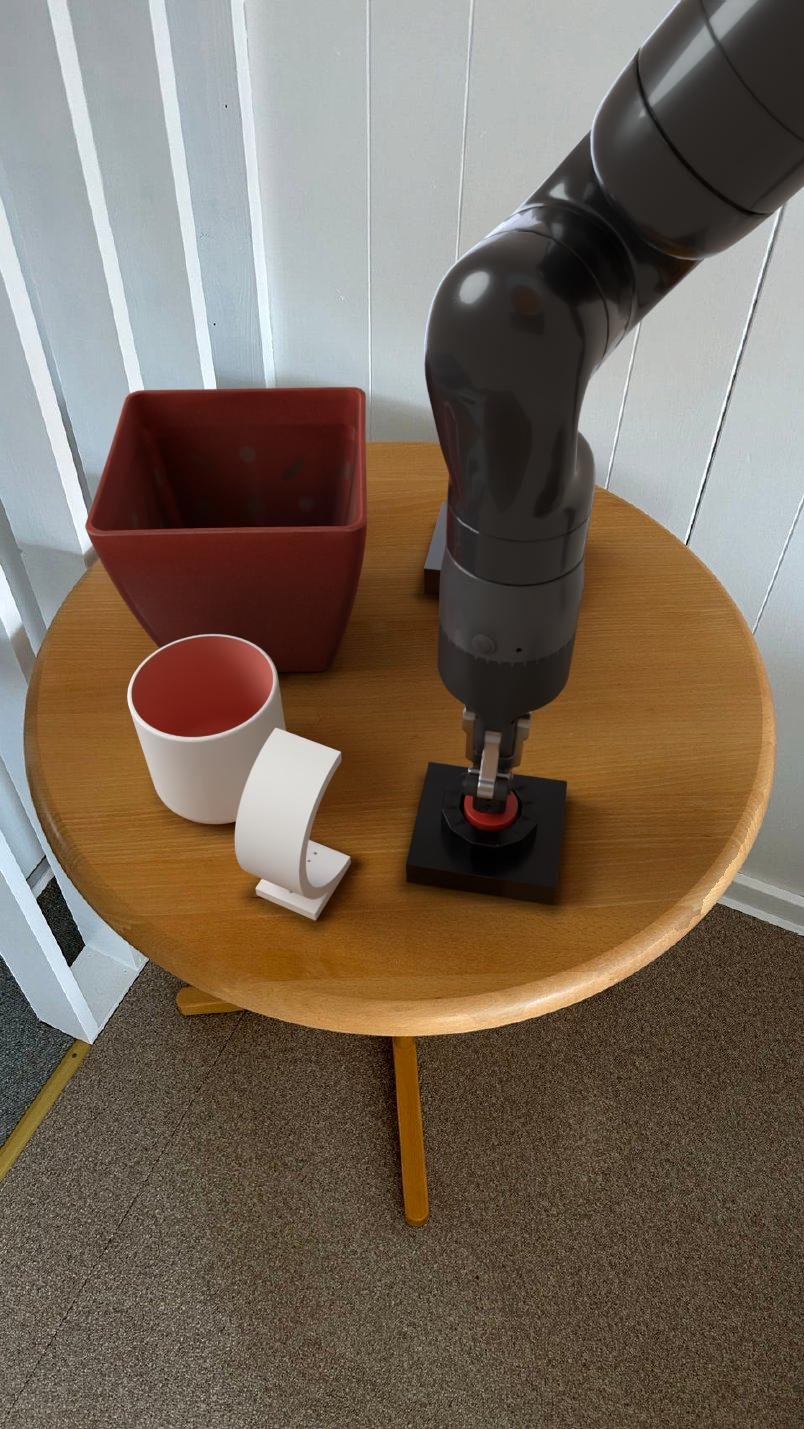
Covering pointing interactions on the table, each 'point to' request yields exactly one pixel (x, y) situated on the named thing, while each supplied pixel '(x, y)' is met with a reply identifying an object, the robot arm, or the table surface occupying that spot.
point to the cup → (204, 721)
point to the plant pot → (238, 516)
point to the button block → (488, 839)
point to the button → (491, 815)
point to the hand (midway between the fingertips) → (489, 803)
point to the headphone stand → (288, 824)
